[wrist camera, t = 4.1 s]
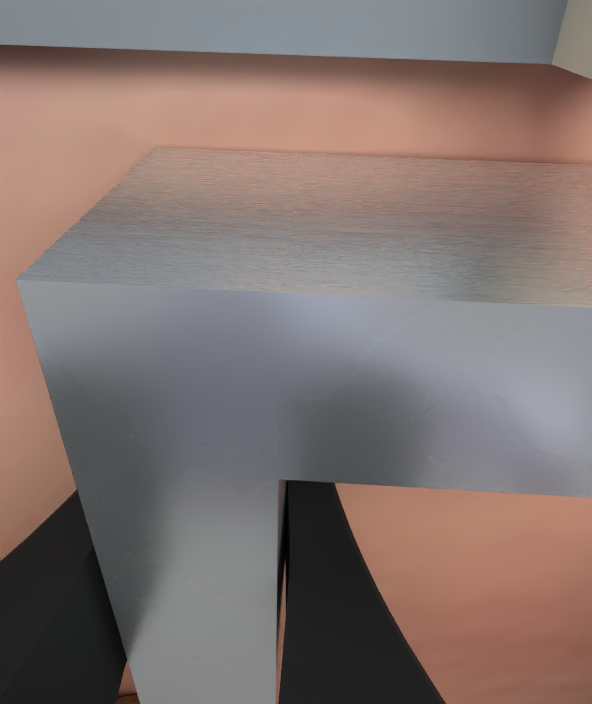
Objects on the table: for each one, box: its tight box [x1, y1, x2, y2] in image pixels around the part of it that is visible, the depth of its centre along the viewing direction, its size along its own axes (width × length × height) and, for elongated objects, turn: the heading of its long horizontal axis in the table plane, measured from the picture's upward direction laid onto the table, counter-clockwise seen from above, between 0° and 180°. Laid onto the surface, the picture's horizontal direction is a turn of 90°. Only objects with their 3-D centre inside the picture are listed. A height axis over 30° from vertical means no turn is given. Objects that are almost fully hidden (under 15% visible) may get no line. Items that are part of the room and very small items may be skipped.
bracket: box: [16, 147, 592, 704], centre depth 10 cm, size 9×8×5 cm
